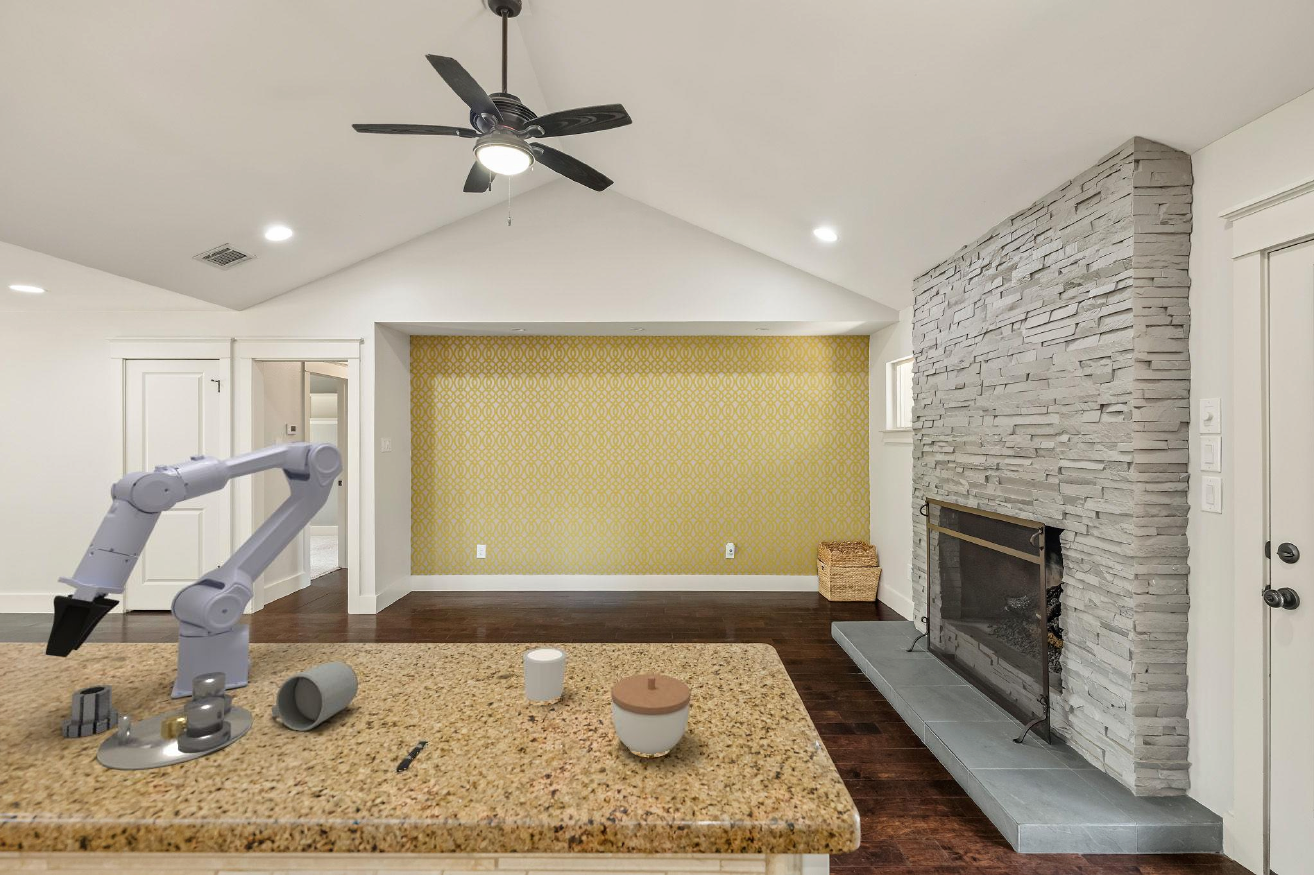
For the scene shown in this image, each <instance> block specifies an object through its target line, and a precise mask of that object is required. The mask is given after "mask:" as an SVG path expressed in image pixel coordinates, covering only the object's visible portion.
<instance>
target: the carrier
mask: <svg viewBox="0 0 1314 875" xmlns="http://www.w3.org/2000/svg"><path fill="white" fill-rule="evenodd" d="M225 682H226V674H225V673H222V672H213V673H207V674H203V675H200V676H197V677H195V678H194V679H193V680H192V695H191V700H189V701H187V702H186V703H185V704H184V705H183V708H181V709H175V710H172V711H168V712H164V713H160V714H157V715H154V716H150V717H147V718H144V719H141V720H139V721H136V722H134V723H132V714H129V713H128V714H122V715H119V718H118V724H117V731H116V732H114V733H112V734H111V735H110V736H108V737H107V738H106V739H105V740H103V741H102V742H101V744H100V745H99V747H97V748H98V749H97V751H96V752H97V754H96V756H97V762H99V764H100V765H102V766H103V767H107V768H109V769H114V770H123V771H130V770H131V771H134V770H135V771H136V770H138V771H139V770H149V769H157V768H163V767H167V766H172V765H177V764H178V765H179V764H181V763H186V762H188V761H192V760H195V759H199V758H201V757H204V756H207V755H209V754H212V753H215V752H217V751H219V750H221V749H224V748H225V747H228V746H229V745H231V744H233V743H234V742H236V741H238V740H239V739H241V738H242V737H243V736H245V735H246V734H247V733H248V732H249V730H250V729H251V728H252V725H253V722H254V721H253V720H254V718H253V714H252V712H251V711H250V710H248V709H246V708H244V707H240V706H238V705H237V706H236V705H233V696H232V695H231V694H227V693H226V689H225Z"/></svg>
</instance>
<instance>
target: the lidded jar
mask: <svg viewBox="0 0 1314 875" xmlns="http://www.w3.org/2000/svg"><path fill="white" fill-rule="evenodd" d="M691 695H692V694H691V689H690V688H689V686H688V685H687V684H686V683H685V682H684V681H682V680H680V679H677V678H676V677H671V676H668V675H663V674H652V673H651V674H650V673H649V674H648V673H647V674H646V673H644V674H643V673H642V674H634V675H629V676H626V677H623V678H621V679H619V680H617V681H616V682H615V684H613V686H612V687H611V714H612V721H613V726H614V730H615V732H616V734H617V736H618V738H619V740H620V741H621V743H622V744H624V746H626V748H627V747H628V748H629V749H631V750H633V751H636V752H640V753H646V754H656V753H662V752H665V751H668V750H670V749H671V750H672V749H673V748H674V747H675V746H676V745H678V743H679V742H680V741H681V739H682V738H683V736H684V734H685V732H686V729H687V725H688V721H689V716H690V702H691V697H692V696H691Z"/></svg>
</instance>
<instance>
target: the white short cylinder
mask: <svg viewBox="0 0 1314 875" xmlns="http://www.w3.org/2000/svg"><path fill="white" fill-rule="evenodd" d="M522 656H523V657H522V659H523V660H522V661H523V674H524V678H523V679H524V695H525V698H526V697H527V698H528V699H530V700H534V701H539V702H541V701H549V700H553V699H556V698H557V697H560V695H561V694H562V695H563V688H564V680H565V674H566V673H565V671H566V664H567V652H566V651H565V650H563V649H561V648H557V647H537V648H532V649H529V650H528V651H526V652H524V653H523V655H522Z"/></svg>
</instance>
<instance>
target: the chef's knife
mask: <svg viewBox="0 0 1314 875" xmlns="http://www.w3.org/2000/svg"><path fill="white" fill-rule="evenodd" d="M421 740H422V741H421ZM421 740H420V741H418V743H417V744H416V745H415V747H414V748H413V749H412V750H411V751H410V752H409V753H408V754H407V755H406V756H405V757H404V758H403V760H401V762H399V763H398V765H397V767H396V771H397V772H398V771H399V770H403V769H404V768H407V767H409V768H410V764H411V762H412V761H413V760H412V758H414V756H415V755H416V754H417V752H419V751H420V750H421V749H422V748H423V747H424V745H425V744H426V743H428V742H430V741H426V740H425V739H424V740H425V741H423V738H422V739H421ZM417 755H418V754H417ZM417 755H416V756H417ZM416 756H415V757H416ZM414 759H415V758H414ZM411 760H412V761H411ZM410 761H411V762H410ZM409 763H410V764H409ZM403 771H404V770H403Z"/></svg>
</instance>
